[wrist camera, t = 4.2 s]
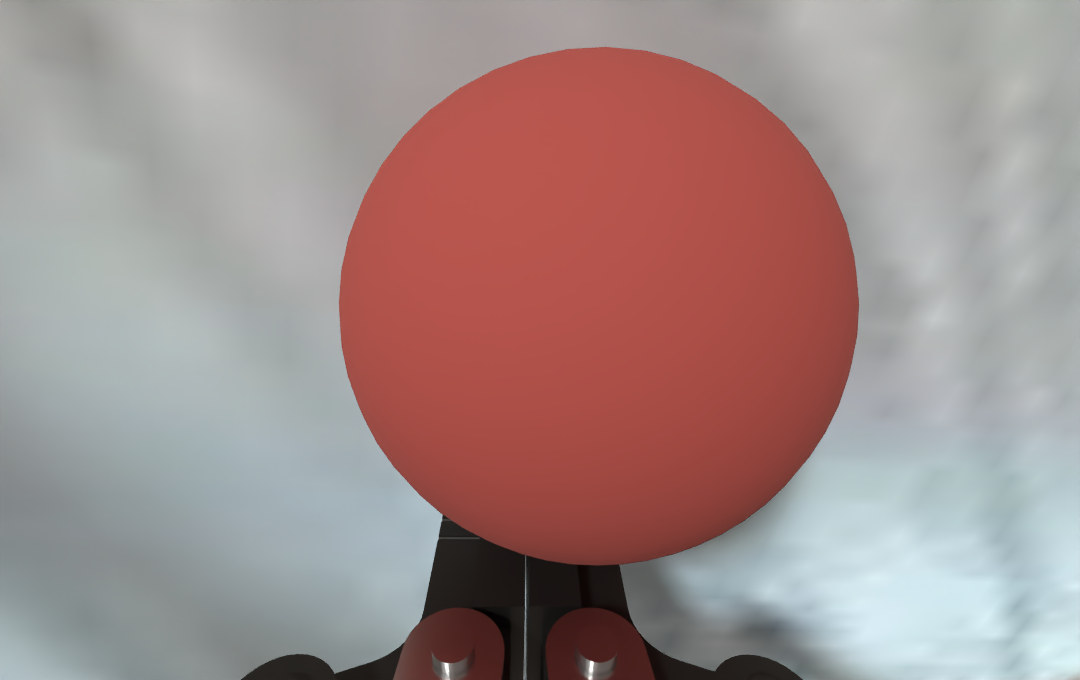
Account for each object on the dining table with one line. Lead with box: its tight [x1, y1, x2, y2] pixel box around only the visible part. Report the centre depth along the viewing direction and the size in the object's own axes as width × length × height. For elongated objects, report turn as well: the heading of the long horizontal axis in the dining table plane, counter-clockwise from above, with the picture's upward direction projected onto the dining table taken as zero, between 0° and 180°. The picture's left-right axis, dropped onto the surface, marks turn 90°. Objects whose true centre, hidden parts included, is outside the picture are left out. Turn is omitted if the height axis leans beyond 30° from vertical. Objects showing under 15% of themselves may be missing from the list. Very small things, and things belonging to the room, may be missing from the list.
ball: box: [339, 47, 859, 566], centre depth 7 cm, size 6×6×6 cm
